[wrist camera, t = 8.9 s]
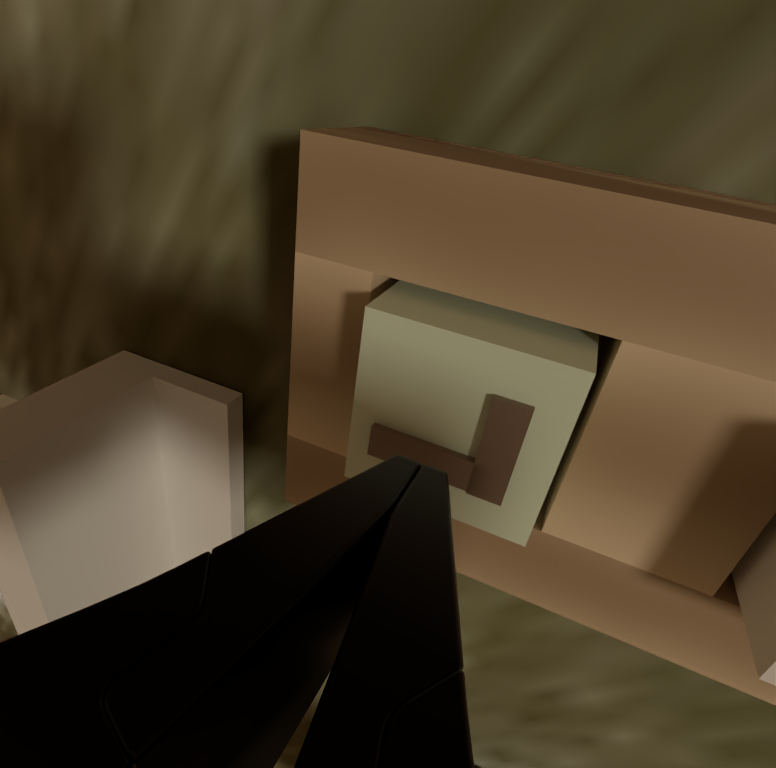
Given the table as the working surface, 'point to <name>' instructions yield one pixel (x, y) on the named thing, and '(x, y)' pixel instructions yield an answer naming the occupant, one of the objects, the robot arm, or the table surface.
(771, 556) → the T button
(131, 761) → the robot arm
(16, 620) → the grey screen
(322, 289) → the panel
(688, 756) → the table surface
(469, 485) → the button
